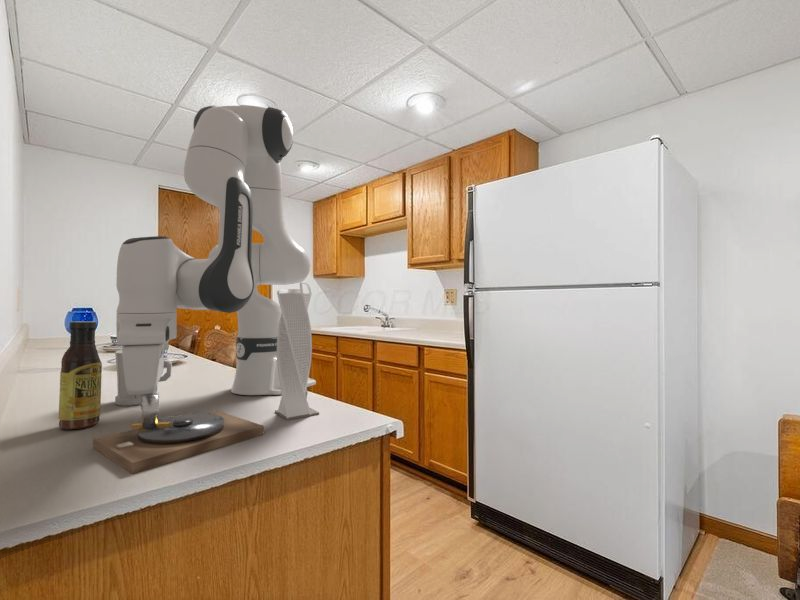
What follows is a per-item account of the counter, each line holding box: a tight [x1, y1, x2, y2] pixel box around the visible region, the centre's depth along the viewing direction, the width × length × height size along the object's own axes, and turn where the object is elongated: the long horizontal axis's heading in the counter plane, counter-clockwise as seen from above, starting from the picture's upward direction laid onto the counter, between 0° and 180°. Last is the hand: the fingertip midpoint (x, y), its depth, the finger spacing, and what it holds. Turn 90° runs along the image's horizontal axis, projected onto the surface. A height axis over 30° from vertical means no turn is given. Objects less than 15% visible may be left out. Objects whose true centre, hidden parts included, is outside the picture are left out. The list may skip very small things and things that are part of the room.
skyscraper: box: [274, 280, 320, 421], centre depth 86 cm, size 8×8×28 cm
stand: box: [92, 410, 265, 475], centre depth 70 cm, size 21×16×2 cm
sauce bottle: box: [58, 320, 103, 431], centre depth 78 cm, size 7×6×20 cm
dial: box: [130, 393, 224, 444], centre depth 70 cm, size 14×13×6 cm
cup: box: [114, 349, 173, 407], centre depth 97 cm, size 10×9×12 cm
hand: (147, 409), depth 70 cm, fingers closed, pressing on dial
